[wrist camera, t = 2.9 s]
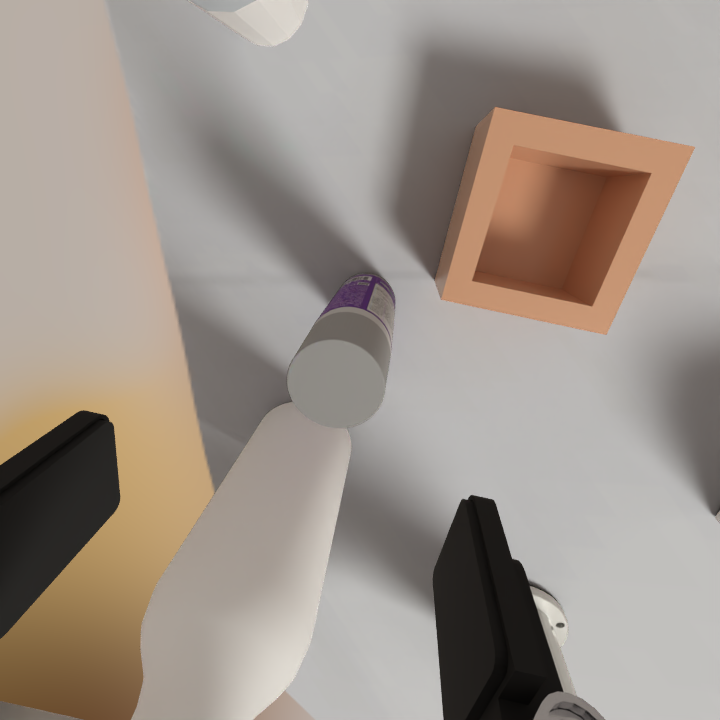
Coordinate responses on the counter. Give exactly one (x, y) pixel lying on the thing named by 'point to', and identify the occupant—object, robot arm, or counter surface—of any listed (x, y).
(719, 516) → the milk carton
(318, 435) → the alcohol
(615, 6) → the counter surface
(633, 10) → the counter surface
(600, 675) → the counter surface
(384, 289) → the container
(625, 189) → the tan open box
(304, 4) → the white cup
